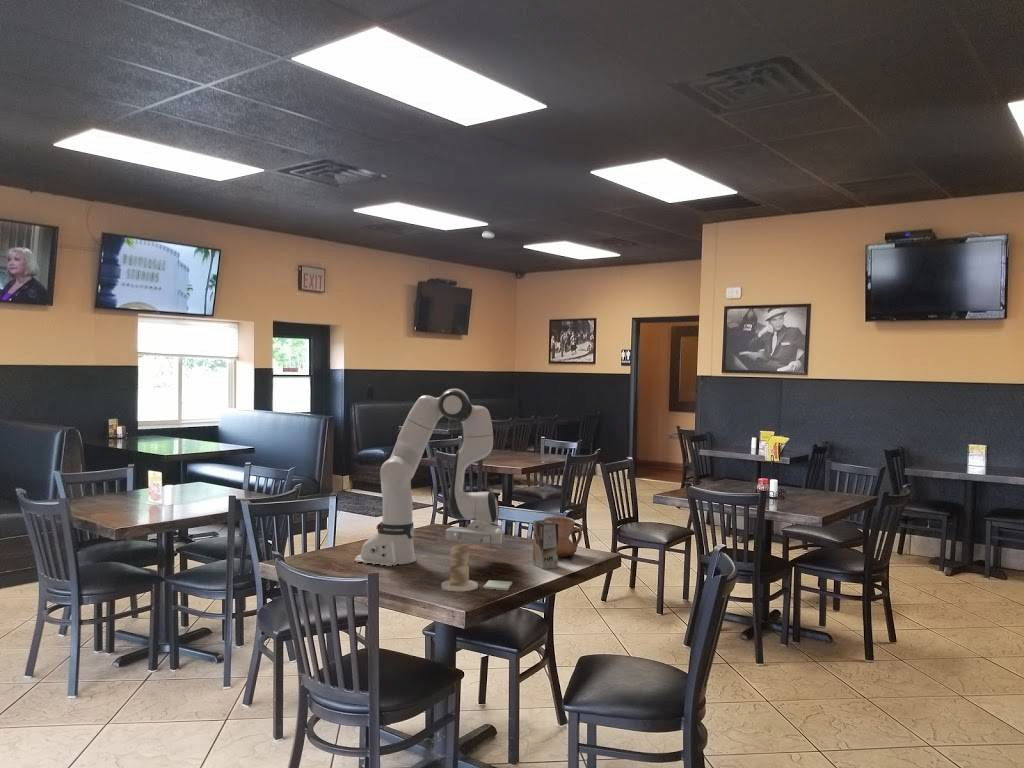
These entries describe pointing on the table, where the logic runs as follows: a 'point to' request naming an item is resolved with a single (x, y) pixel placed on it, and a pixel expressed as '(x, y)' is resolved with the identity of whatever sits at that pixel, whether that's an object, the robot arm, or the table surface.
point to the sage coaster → (497, 585)
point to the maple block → (459, 566)
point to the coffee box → (545, 544)
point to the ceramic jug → (566, 535)
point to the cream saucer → (469, 586)
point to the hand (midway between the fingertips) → (468, 539)
